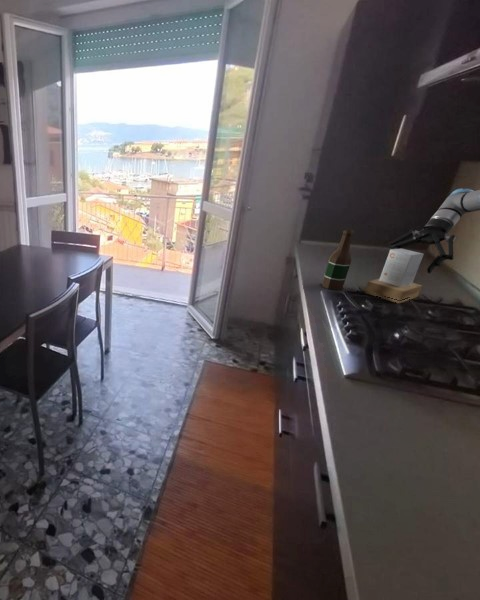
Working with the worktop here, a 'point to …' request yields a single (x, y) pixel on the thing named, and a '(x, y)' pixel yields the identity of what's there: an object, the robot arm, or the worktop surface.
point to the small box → (401, 267)
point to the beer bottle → (339, 264)
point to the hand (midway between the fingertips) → (407, 266)
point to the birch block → (392, 290)
